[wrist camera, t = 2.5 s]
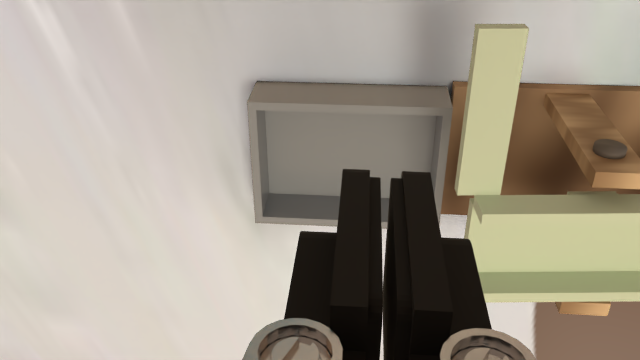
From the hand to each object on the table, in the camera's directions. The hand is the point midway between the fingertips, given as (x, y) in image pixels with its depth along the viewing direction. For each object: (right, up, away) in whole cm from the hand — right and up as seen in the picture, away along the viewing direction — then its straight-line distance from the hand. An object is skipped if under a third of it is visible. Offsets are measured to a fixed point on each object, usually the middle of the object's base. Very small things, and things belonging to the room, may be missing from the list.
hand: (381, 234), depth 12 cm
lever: (+18, +3, +24) cm, 30 cm away
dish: (+1, +4, +36) cm, 36 cm away
